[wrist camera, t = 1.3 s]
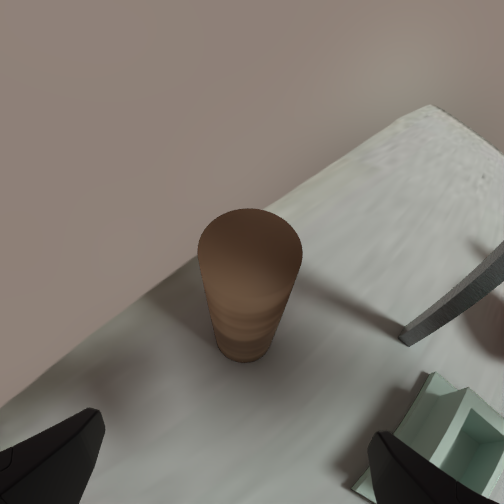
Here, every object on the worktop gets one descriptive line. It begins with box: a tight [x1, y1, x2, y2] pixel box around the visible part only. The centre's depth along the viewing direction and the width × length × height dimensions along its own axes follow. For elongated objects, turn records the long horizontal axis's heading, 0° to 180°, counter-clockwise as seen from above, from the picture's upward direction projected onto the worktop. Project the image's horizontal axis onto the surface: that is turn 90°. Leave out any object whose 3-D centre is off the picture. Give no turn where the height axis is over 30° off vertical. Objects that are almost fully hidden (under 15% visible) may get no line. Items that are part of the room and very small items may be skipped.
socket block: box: [351, 372, 504, 504], centre depth 15 cm, size 12×12×5 cm
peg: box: [198, 209, 303, 363], centre depth 18 cm, size 4×4×12 cm
